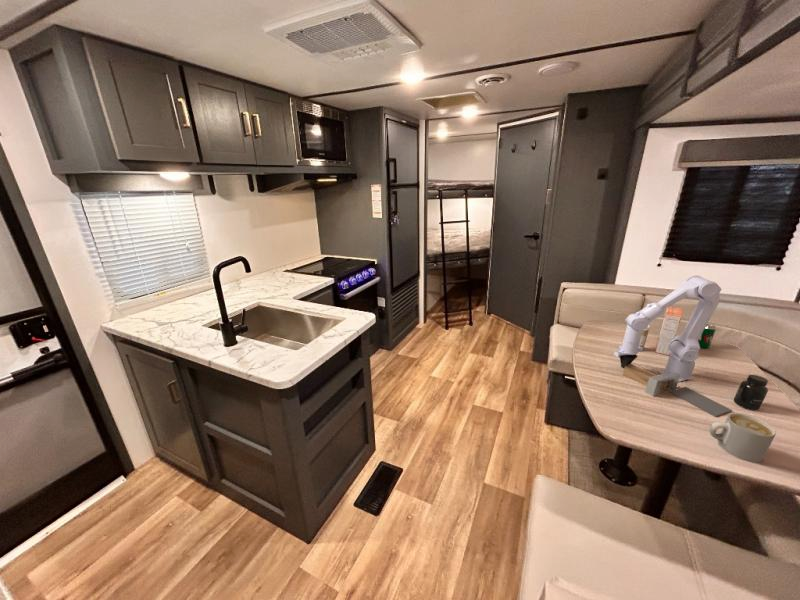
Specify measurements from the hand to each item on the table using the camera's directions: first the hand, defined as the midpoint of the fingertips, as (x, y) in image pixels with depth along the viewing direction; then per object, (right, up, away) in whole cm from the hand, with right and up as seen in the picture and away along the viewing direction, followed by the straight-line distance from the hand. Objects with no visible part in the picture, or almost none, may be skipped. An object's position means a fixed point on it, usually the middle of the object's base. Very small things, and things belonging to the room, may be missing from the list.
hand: (624, 367), depth 140 cm
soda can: (+54, +6, +20) cm, 58 cm away
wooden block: (+3, -4, -8) cm, 9 cm away
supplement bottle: (+30, -9, -22) cm, 39 cm away
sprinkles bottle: (+20, +5, +18) cm, 28 cm away
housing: (+5, -6, -14) cm, 16 cm away
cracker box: (+33, +5, +18) cm, 38 cm away
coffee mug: (+5, -16, -41) cm, 44 cm away
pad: (+14, -9, -20) cm, 26 cm away
